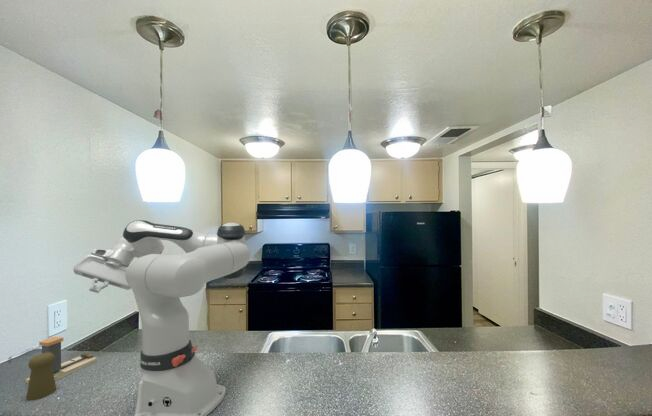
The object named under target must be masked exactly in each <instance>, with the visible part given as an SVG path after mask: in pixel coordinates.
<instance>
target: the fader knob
mask: <svg viewBox="0 0 652 416" xmlns="http://www.w3.org/2000/svg"><path fill="white" fill-rule="evenodd" d="M62 342H64V337H62V336H52V337H50V338H47V339H45V340H42V341H39V346H40V347H41V354H42V353H53V355H54V361H53V363H52V368H53V373H54V372H56V371H59V370H61V364H62Z"/></svg>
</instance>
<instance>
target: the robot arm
mask: <svg viewBox="0 0 652 416" xmlns="http://www.w3.org/2000/svg"><path fill="white" fill-rule="evenodd" d="M162 241H169V242H172V243H174V244H175V245H176V246H178V247H180V248H181V250H183V251H184V252H185V253H179V254H178V253H177V254H173V253H172V254H167V253H166V254H165V253H164V254H163V251H164V248H165V245H164V244H163V242H162ZM246 243H247V241H246V231H245V227H244V226H243V225H242V224H239V223H237V222H227V223H224V224H221V225H220V226H219V227H218V228H217V232H216V233H203V232H200V231H195V230H192V229H191V228H190V229H189V228H187V227H182V226H177V225H170V224H169V225H168V224H160V223H154V222H151V221H148V220H143V219H141V220H140V219H139V220H134V221H131V222H130V223H128V224H127V225H126V226H125V228H124V230H123V232H122V235H121V236H120V237H119V238H118V240H117V241H116V243H115V245H114V246H113V247H112V248H111V249H100V248H94V249H92V251H91V252H90V254H87V255H85V256H83V258H81V259H80V260H79V261H78V262H77V263H76V264H75V265H74V266H73V273H74V274H75V275H77V276H80V277H81V276H82V277H84V278H88V279H90V280H92V285H91V287H89V289H88V290H89V291H90V292H92V293H97V294H99V293H100V292H101V291H102V290H103V289H105V288H108V286H109V285H111V286H114V287H117V288H120V289H124V290H127V291H129V290H132V293H133V295H134V299H135V302H136V305H137V309H138V312H139V317H140V322H141V342H142V343H141V345H142V347H141V348H142V350H141V351H140V357H139V364H140V365H139V367H140V368H141V375H140V379H139V383H138V389H137V398H136V399H137V400H136V401H137V402H136V405H135V407H134V411H135V414H134V415H133V416H209V414H211V412H213V411H214V410H215V408H217V406H219V405H220V404H221V402H222V401H223V400H224V398H225V396H226V394H227V388H226V386H224V385H222V384H218V383H217V377H216V374H215V371H214V370H213V369H212V368H210V366H209V365H208V364H207V363H204V361H202V360H201V359H200V358H198V356H197V355H196V351H197V350H198V347H199V345H195V346H194V345H193V344H192V340H191V339H190V317H189V312H188V310H187V308H186V307H185V306H184V305H183V303H182V301H181V298H185V297H191V296H194V295H196V294H197V293H199V292H200V291H201V290H202V289H203V288H204V286H205V284H207V283H209V282H211V281H214V280H217V279H222V280H235V279H239V278H241V277H242V276H243V275H244V274H245V271H246V266H247V265H248V264H249V262H250V260H251V252H250V249H249V247H248V246H247V244H246ZM98 282H101V283H103V284H102V285H100V286H98V285H96V284H98Z"/></svg>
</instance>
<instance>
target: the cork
mask: <svg viewBox="0 0 652 416" xmlns="http://www.w3.org/2000/svg"><path fill="white" fill-rule="evenodd" d="M53 361H54V355H53V353H42V352H41V353H39V354H37V355H34V356H33V357H31V358H30V360H29V361H28V367H29V369H30V370H31V371H30V375H29V378H30V380H29V384H28V387H27V393H26V398H25V400H26V401H28V402H29V401H31V402H32V401H35V400H40V399H43V398H46V397H48V396H50V395H51V394H53V393H54V392H56V390H57V385H56V384H57V383H56V381H55V379H54V374H53V368H52V363H53Z"/></svg>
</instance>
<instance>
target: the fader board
mask: <svg viewBox="0 0 652 416" xmlns="http://www.w3.org/2000/svg"><path fill="white" fill-rule="evenodd" d="M96 362H98V357H95V356H94V353H93V354H92V353H86V352H84V353H82V354H80V355H78V356H77V357H74V358H72V359H69V360H67V361H64V362H61V370H59V371H56V372H54V373H53V374H54V379H55V382H56V381H58V380H60V379H62V378H64V377H66V376H69V375H71V374H73V373H75V372H77V371H79V370H81V369H83V368H86V367H88V366H90V365H92V364H94V363H96ZM29 380H30V377H28V378H25V384H28V385H29Z"/></svg>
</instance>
